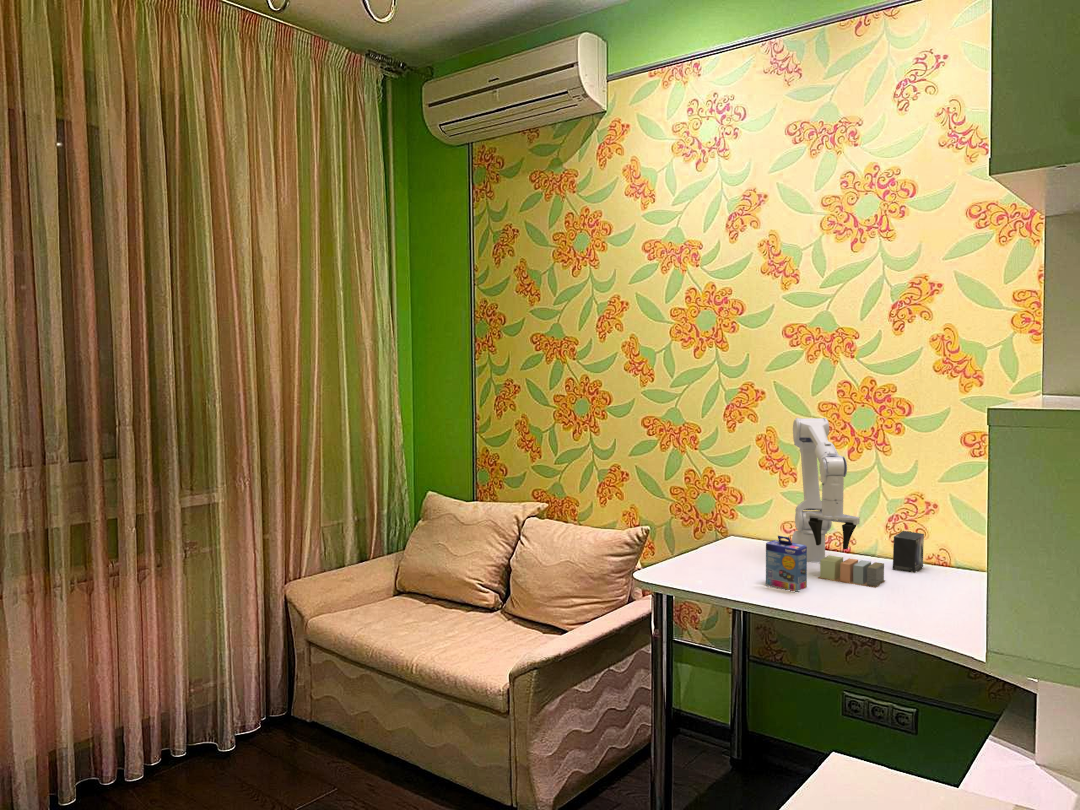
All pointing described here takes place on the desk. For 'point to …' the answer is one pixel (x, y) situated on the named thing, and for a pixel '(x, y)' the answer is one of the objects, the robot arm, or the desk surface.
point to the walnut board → (849, 582)
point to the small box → (908, 551)
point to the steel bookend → (875, 574)
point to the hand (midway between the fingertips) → (831, 546)
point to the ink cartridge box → (786, 564)
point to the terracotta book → (847, 570)
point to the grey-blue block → (860, 572)
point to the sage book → (830, 567)
